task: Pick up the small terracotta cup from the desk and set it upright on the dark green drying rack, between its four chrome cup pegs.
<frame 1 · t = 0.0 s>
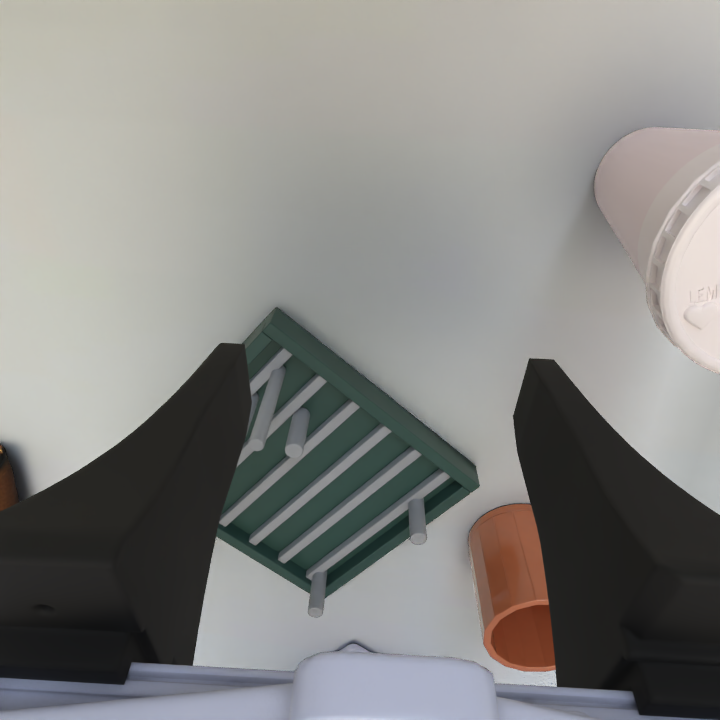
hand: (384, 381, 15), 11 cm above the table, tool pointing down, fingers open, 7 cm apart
rack: (303, 462, 30), on the table
cup: (516, 538, 32), on the table
smoothie: (641, 176, 22), on the table
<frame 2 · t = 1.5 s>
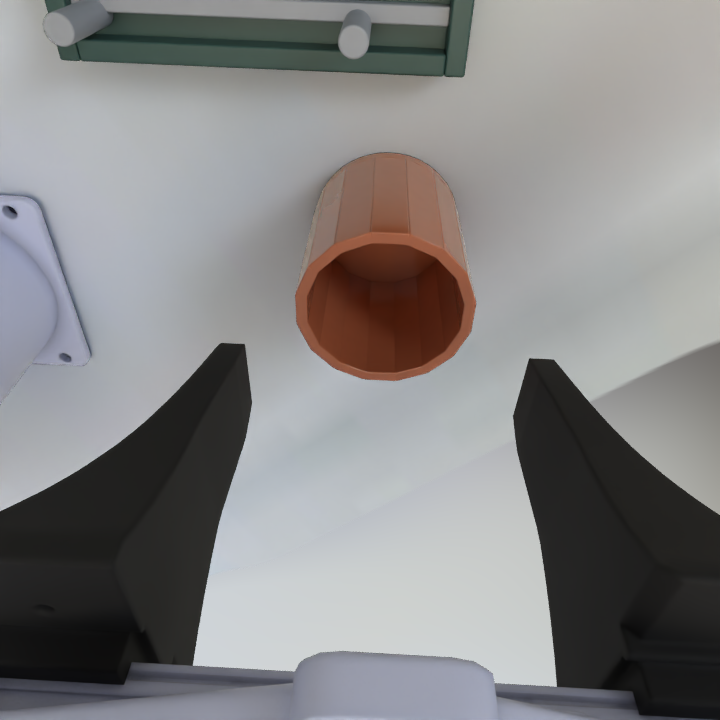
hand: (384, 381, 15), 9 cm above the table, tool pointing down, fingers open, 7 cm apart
cup: (385, 222, 22), on the table
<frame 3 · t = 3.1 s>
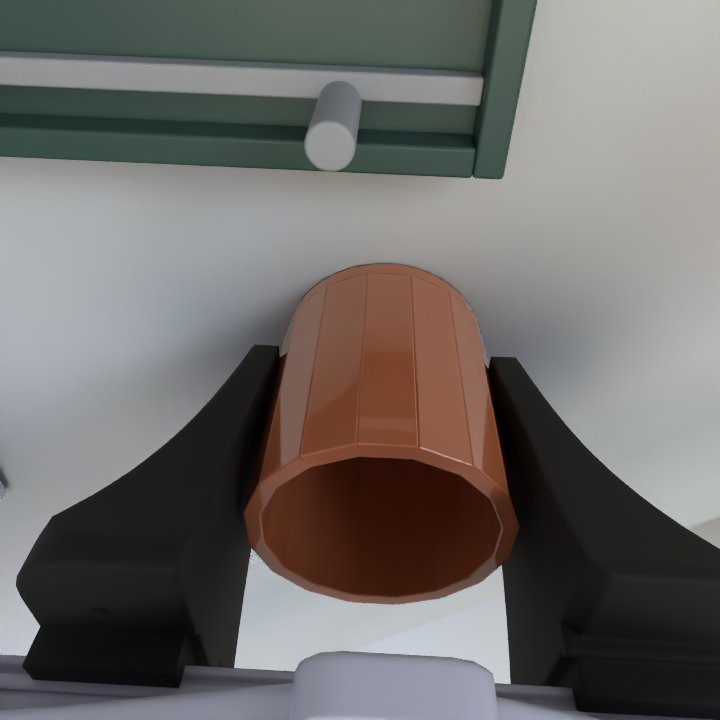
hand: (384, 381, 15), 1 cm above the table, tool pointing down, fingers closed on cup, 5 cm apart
cup: (383, 347, 16), on the table, touching gripper
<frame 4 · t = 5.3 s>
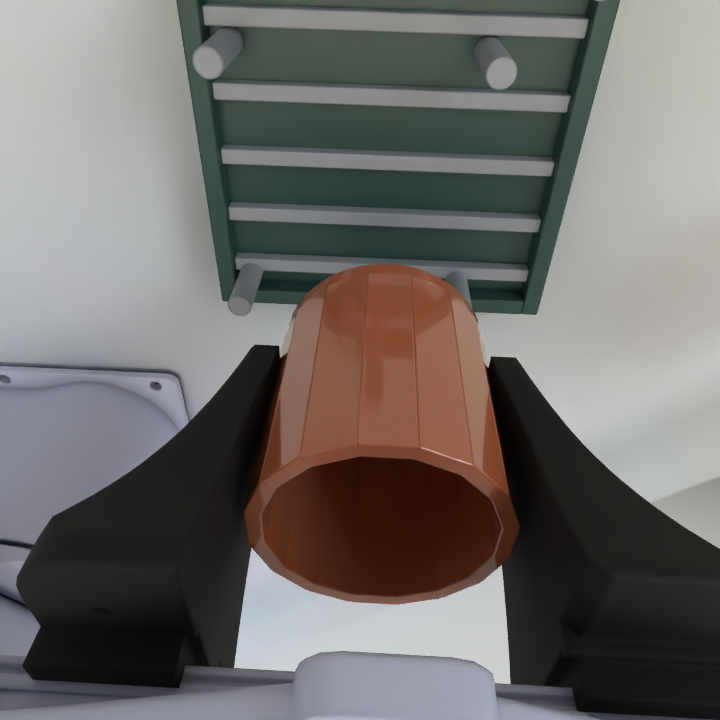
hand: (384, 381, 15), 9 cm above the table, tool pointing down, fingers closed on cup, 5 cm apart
rack: (388, 118, 19), on the table
cup: (383, 347, 16), point 7 cm above the table, touching gripper
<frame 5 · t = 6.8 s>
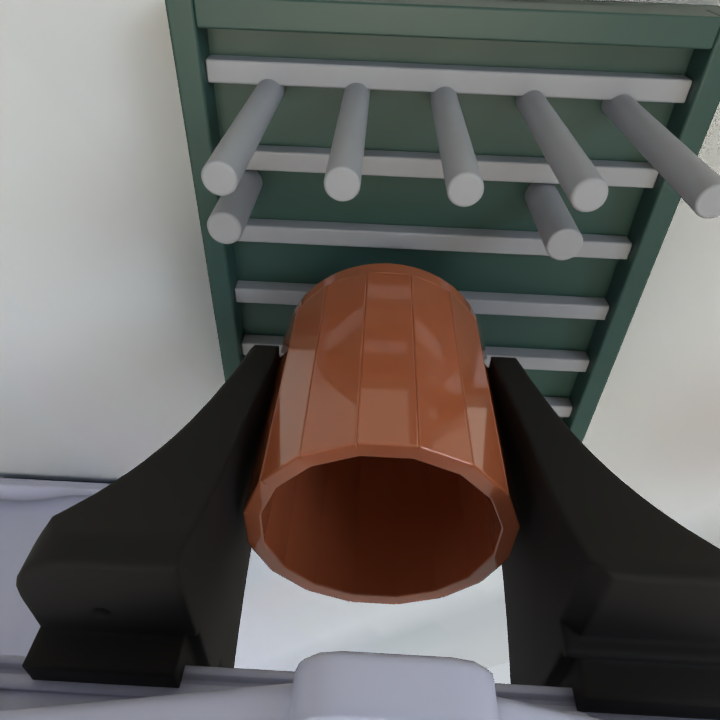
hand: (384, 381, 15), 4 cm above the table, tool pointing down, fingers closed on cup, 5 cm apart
rack: (422, 251, 17), on the table
cup: (383, 346, 16), point 3 cm above the table, touching gripper
when the fingers open (3 cm above the table, at t = 7.9 s): cup stays where it is, resting on rack.
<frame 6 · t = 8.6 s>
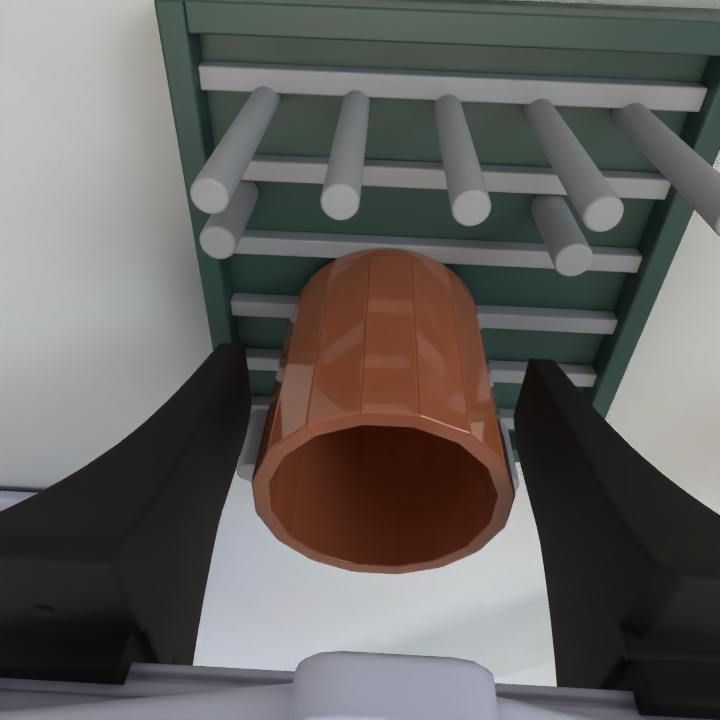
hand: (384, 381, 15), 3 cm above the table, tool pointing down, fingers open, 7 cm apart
rack: (423, 263, 17), on the table
cup: (384, 330, 17), point 1 cm above the table, touching rack
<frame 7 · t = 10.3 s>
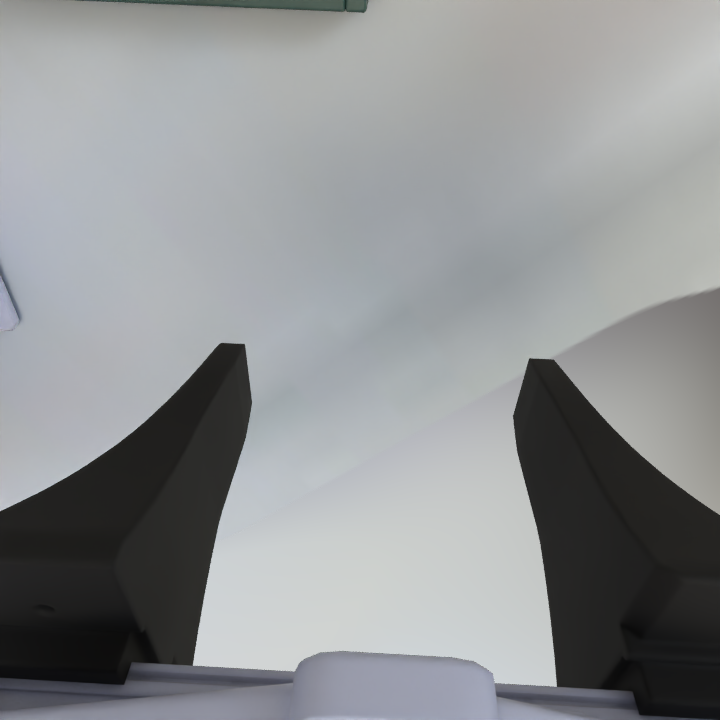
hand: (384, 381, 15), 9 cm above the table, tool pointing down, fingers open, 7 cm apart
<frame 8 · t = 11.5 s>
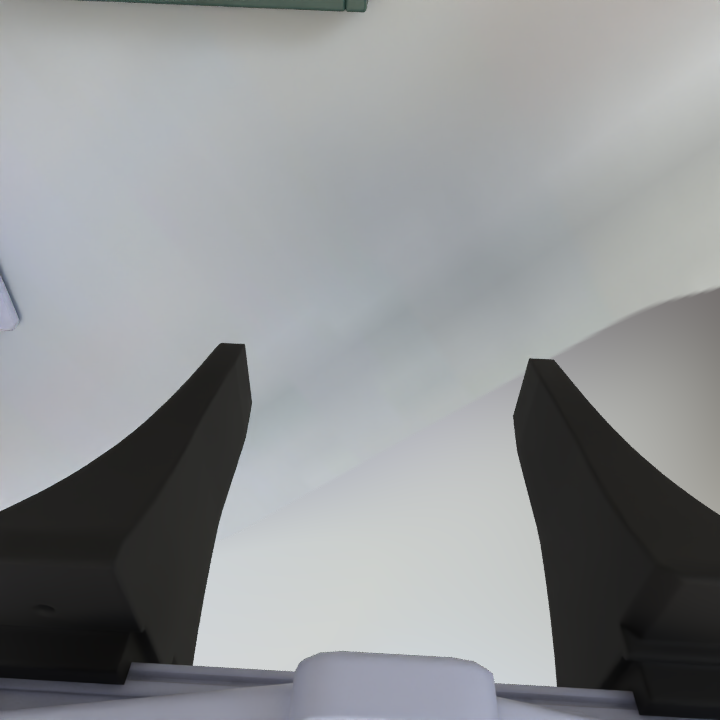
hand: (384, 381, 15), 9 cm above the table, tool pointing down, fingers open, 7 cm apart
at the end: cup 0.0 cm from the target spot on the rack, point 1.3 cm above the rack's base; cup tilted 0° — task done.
